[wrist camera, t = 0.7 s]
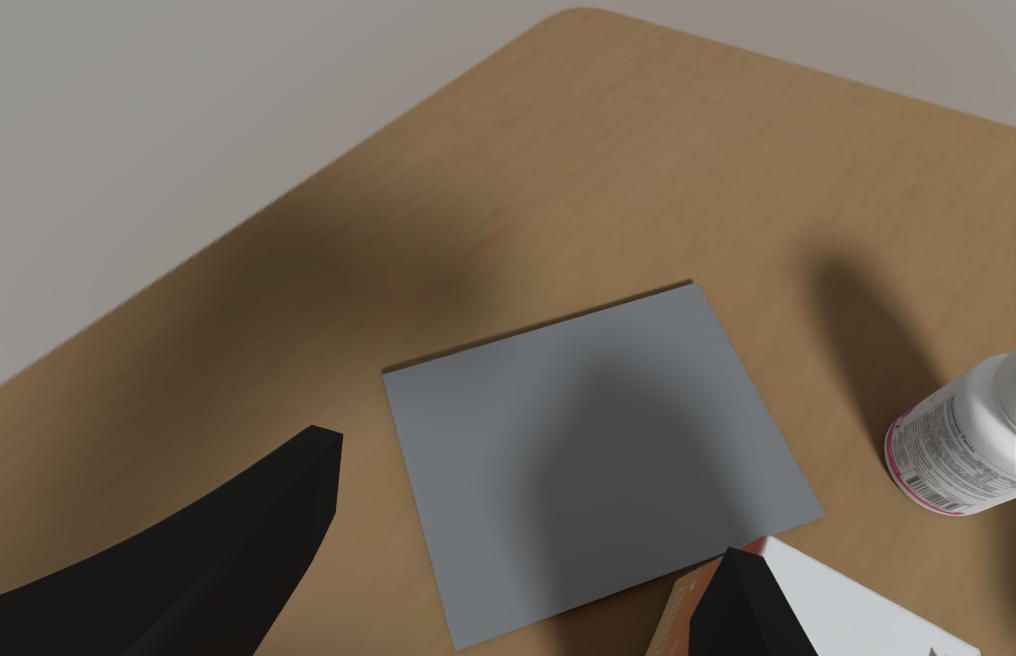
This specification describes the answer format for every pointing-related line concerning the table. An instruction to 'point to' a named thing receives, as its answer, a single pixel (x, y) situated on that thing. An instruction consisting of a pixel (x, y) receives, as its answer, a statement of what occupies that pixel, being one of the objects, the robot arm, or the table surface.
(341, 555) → the table surface
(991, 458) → the pill bottle
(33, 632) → the robot arm
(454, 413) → the mat
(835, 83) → the table surface
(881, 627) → the small box
